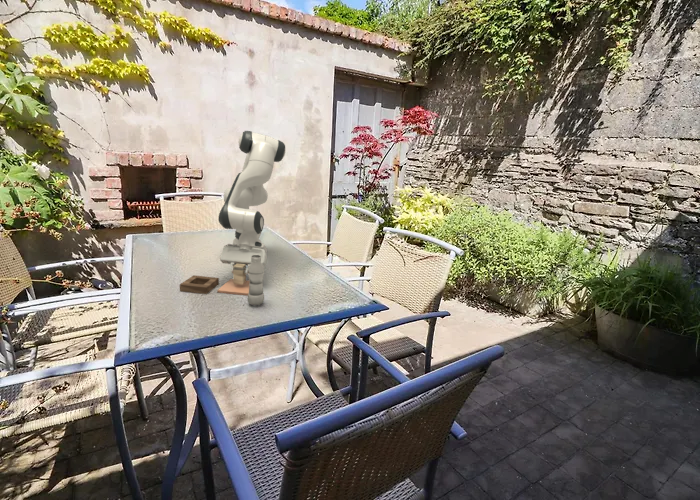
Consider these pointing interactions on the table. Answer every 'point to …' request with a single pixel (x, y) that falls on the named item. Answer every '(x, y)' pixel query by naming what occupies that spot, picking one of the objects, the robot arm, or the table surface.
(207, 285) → the walnut collar holder
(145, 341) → the table surface
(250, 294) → the plastic bottle
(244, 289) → the terracotta tile
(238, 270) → the block
